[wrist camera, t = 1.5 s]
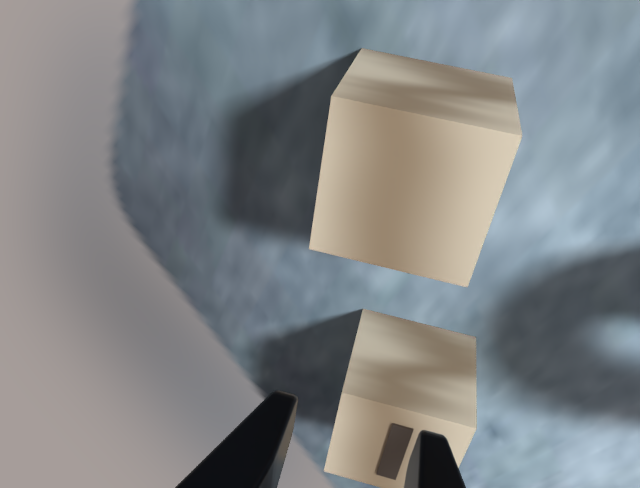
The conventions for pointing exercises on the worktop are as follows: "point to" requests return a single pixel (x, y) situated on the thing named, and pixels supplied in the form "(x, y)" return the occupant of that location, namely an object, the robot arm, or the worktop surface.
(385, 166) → the plain block
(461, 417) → the one stroke block
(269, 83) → the worktop surface
